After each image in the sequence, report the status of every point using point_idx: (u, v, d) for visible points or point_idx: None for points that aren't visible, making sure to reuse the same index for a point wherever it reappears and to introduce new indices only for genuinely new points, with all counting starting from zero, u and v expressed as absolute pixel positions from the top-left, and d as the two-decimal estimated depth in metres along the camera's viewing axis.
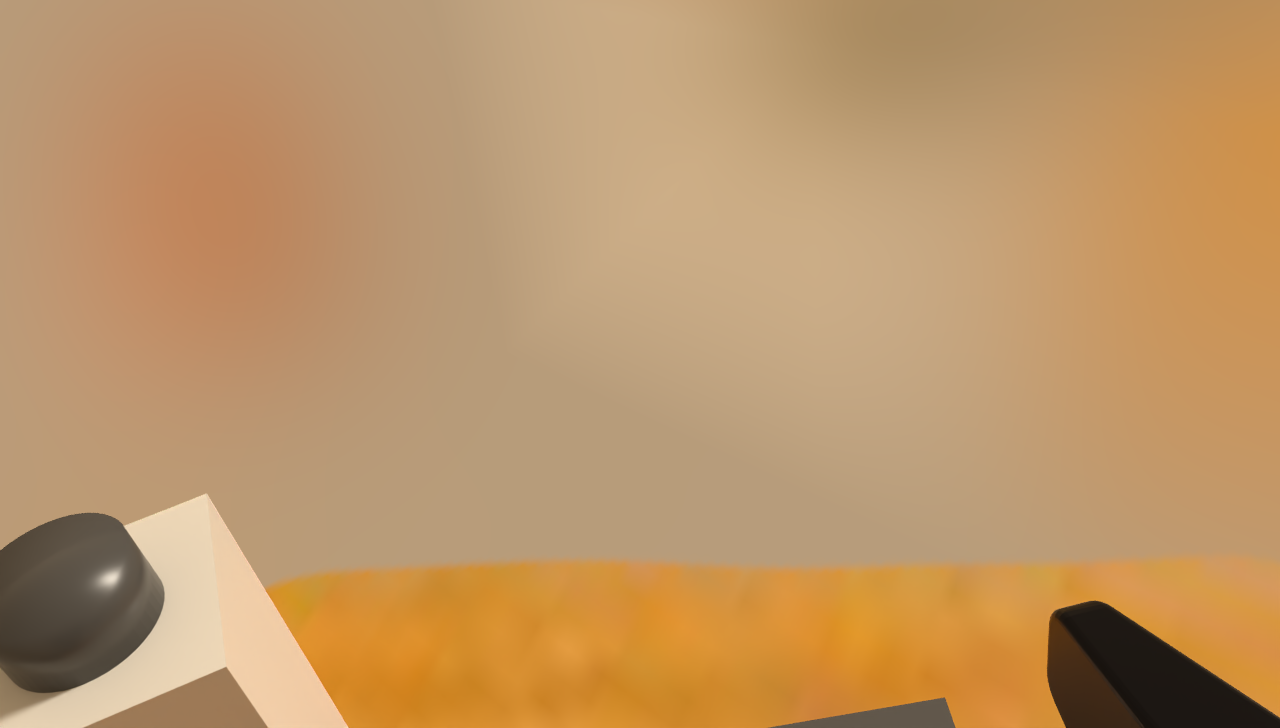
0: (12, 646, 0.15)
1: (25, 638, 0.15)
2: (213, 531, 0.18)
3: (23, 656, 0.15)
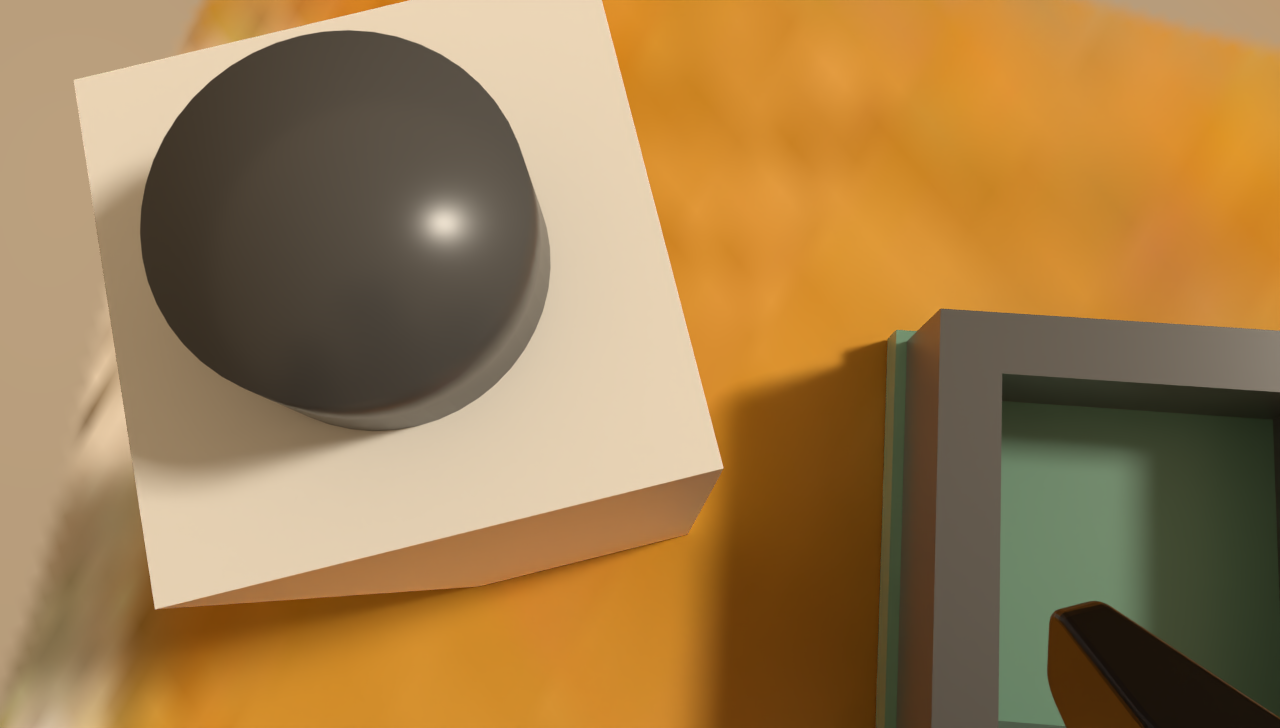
0: (296, 403, 0.07)
1: (331, 401, 0.06)
2: None
3: (315, 412, 0.07)
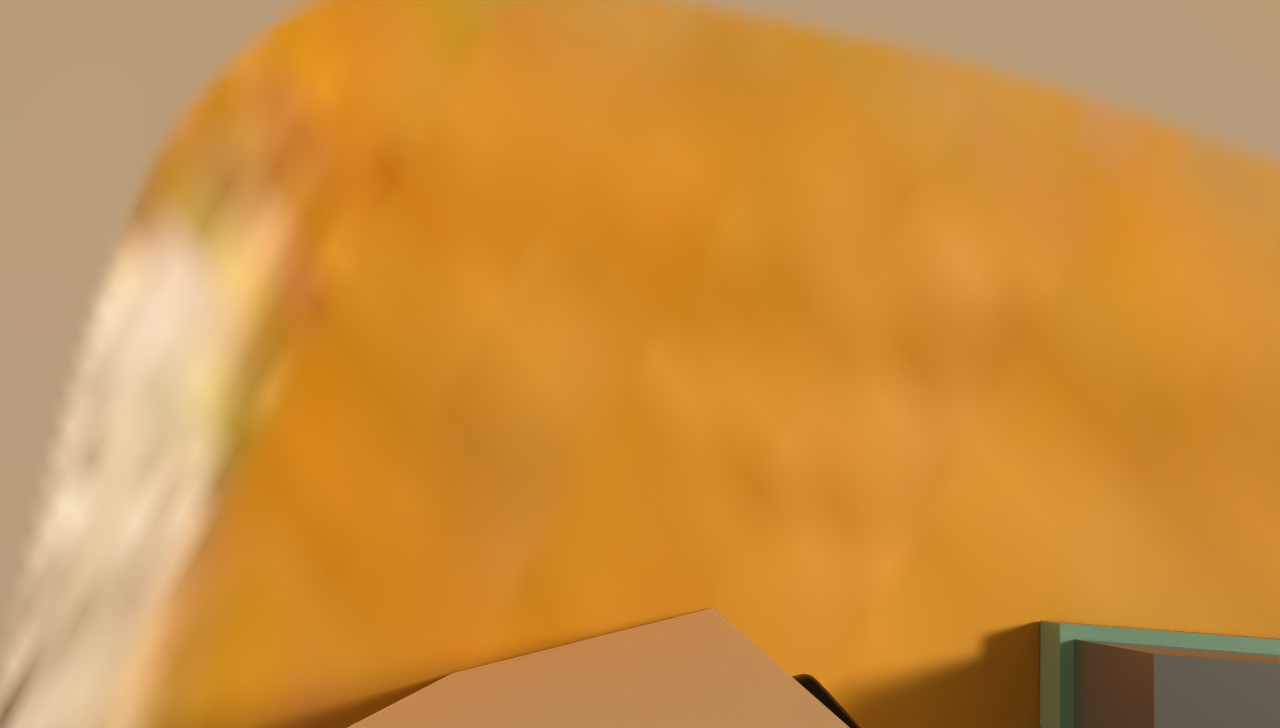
0: None
1: None
2: None
3: None
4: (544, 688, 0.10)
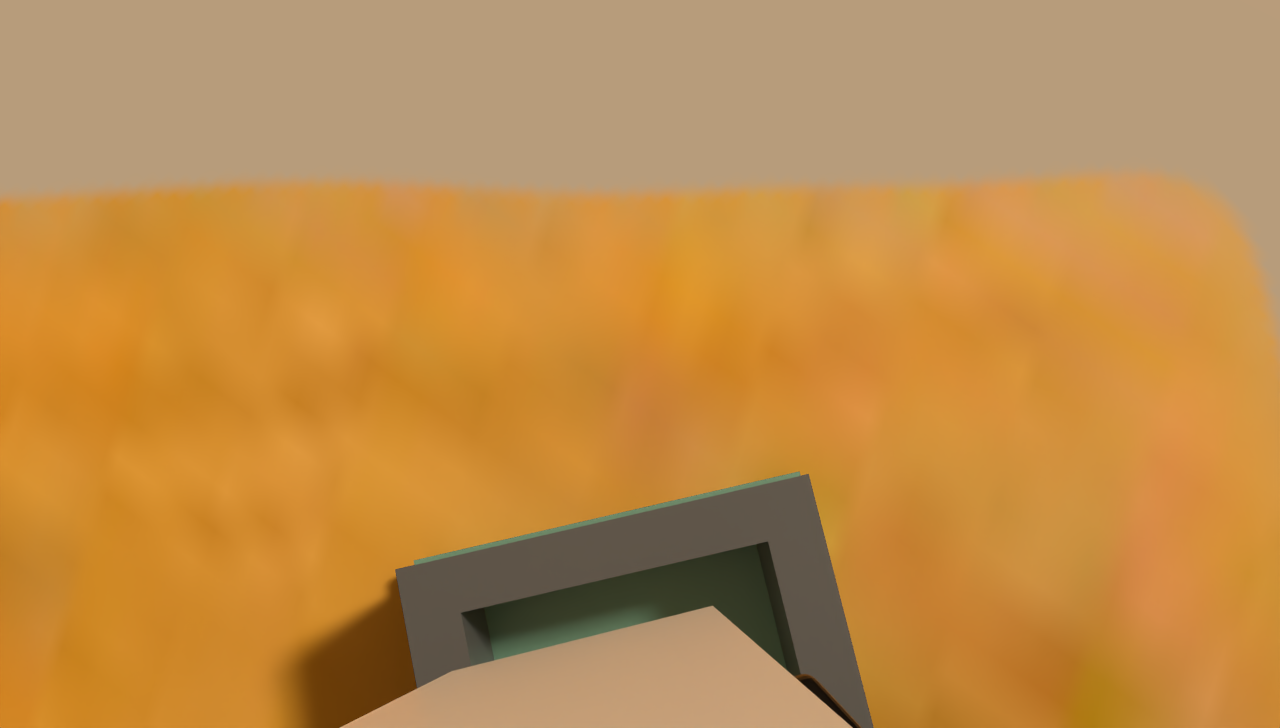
0: None
1: None
2: None
3: None
4: (542, 685, 0.10)
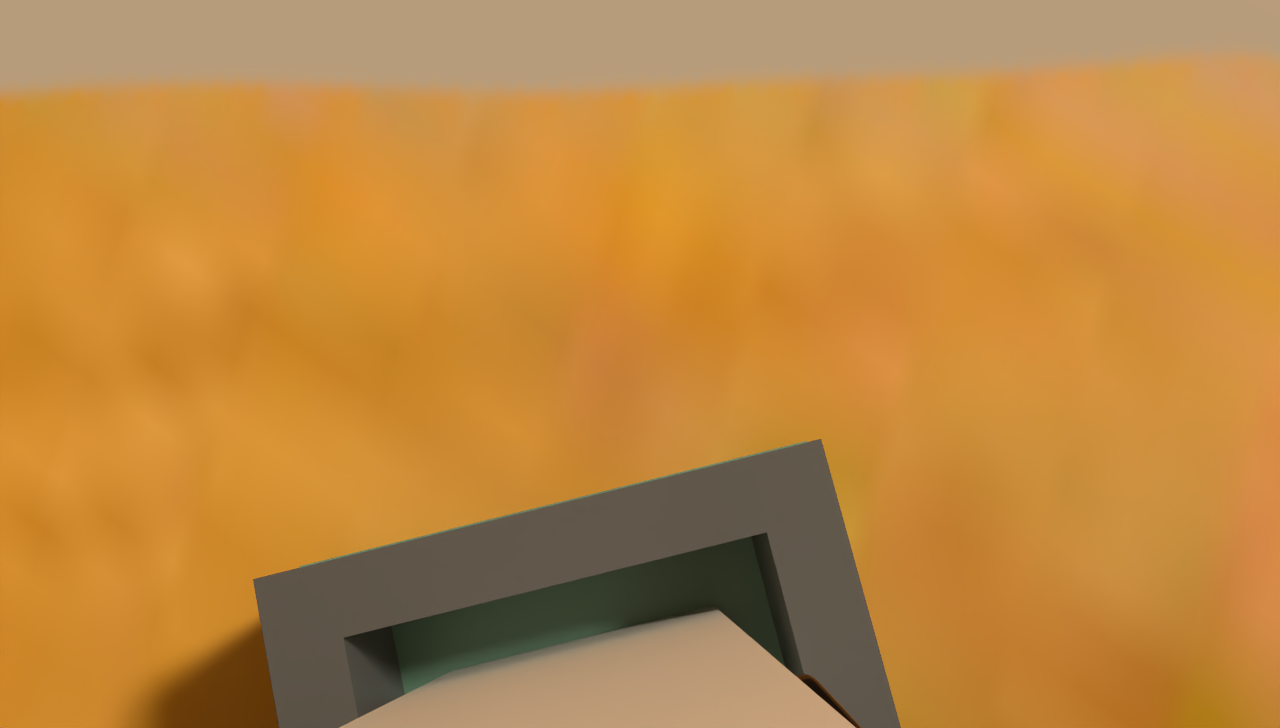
0: None
1: None
2: None
3: None
4: (543, 684, 0.10)
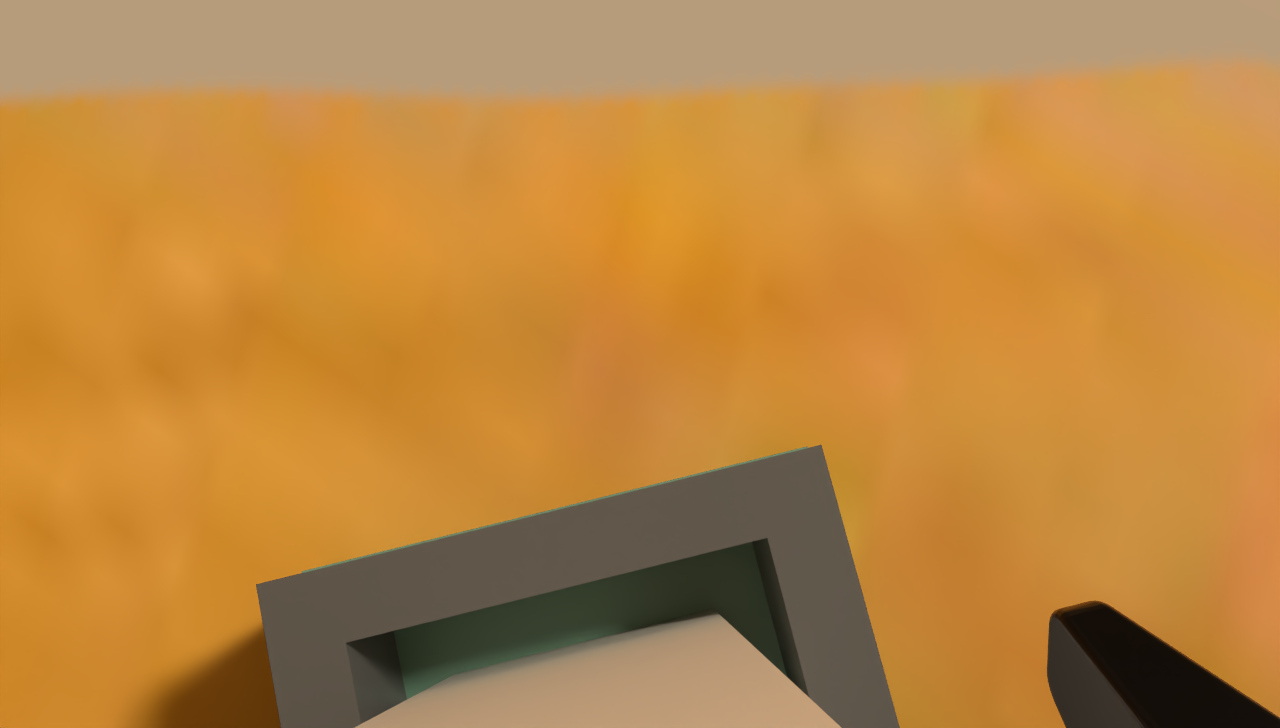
0: None
1: None
2: None
3: None
4: (546, 690, 0.10)
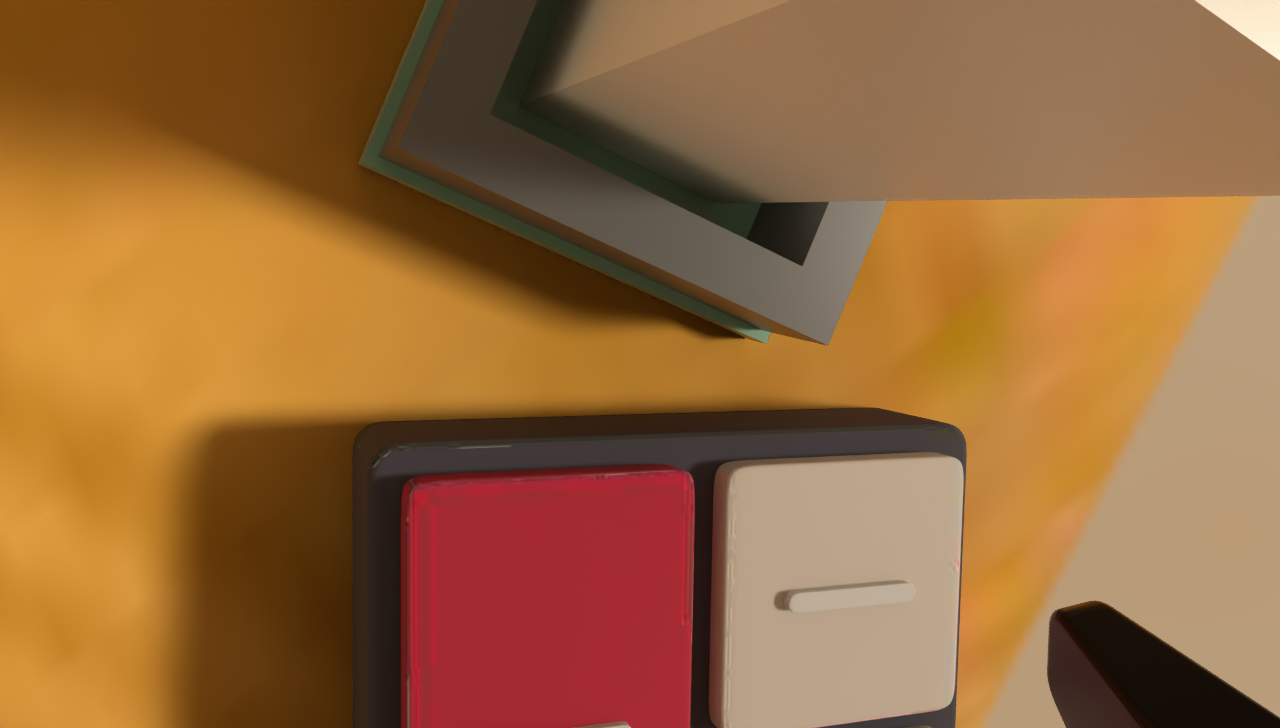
0: None
1: None
2: None
3: None
4: None
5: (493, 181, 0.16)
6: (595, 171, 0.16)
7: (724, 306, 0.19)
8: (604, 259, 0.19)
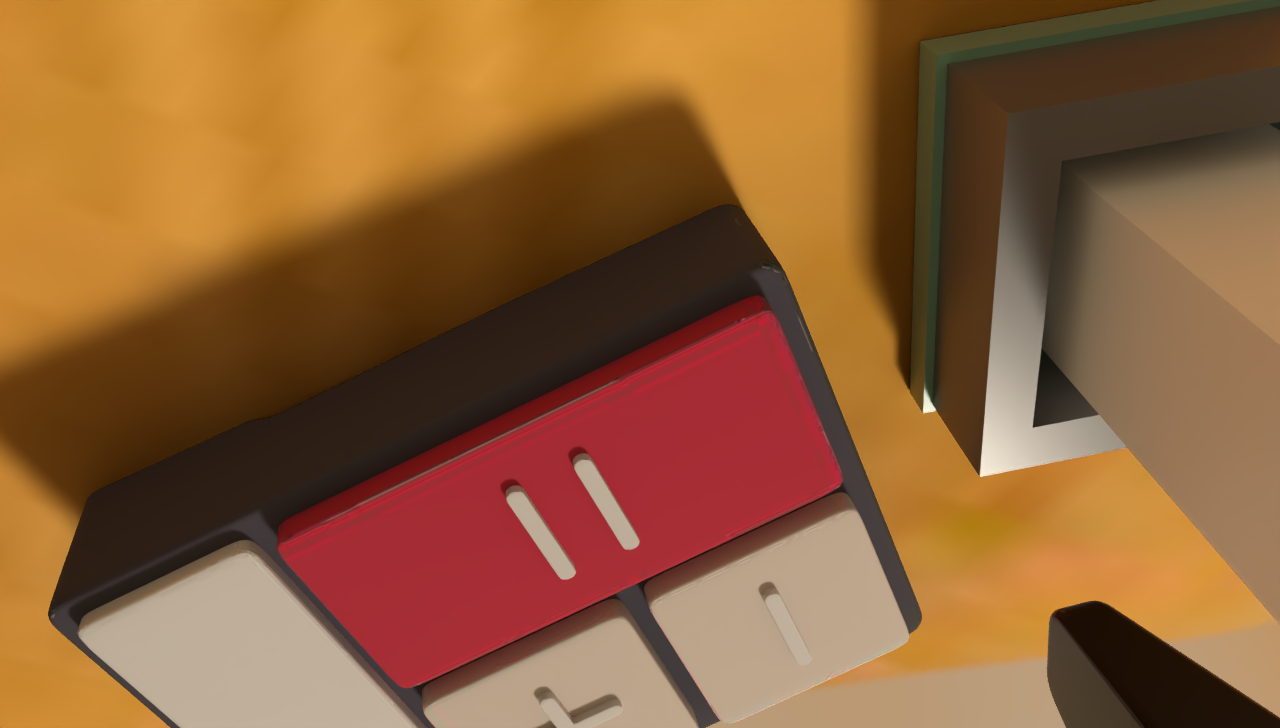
0: None
1: None
2: None
3: None
4: None
5: (1009, 193, 0.18)
6: (1046, 256, 0.19)
7: (957, 382, 0.22)
8: (937, 269, 0.22)
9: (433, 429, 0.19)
